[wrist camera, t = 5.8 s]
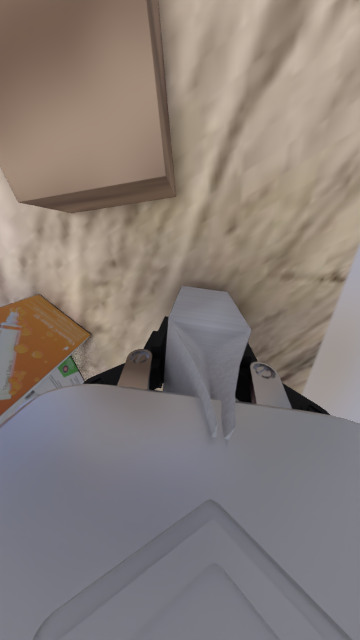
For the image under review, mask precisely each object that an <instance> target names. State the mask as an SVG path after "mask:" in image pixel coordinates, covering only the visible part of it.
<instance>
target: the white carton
mask: <svg viewBox="0 0 360 640" xmlns="http://www.w3.org/2000/svg"><path fill="white" fill-rule="evenodd" d="M250 333H251V329H250V327H249V325H248V324H247V322H246V321H245V319H244V317H243V316H242V314H241V313H240V311H239V309H238V308H237V306H236V305H235V303H234V302H233V300H232V298H231V297H230V295H229V294H228V292H224V291H216V290H209V289H202V288H194V287H187V286H182V287H181V289H180V292H179V294H178V296H177V299H176V301H175V304H174V306H173V308H172V311H171V313H170V316H169V318H168V331H167V344H166V357H165V370H164V383H163V391H165V392H173V393H181V394H188V395H195V396H197V397H200V398H201V400H202V402H203V405H204V409H205V413H206V417H207V420H208V424H209V428H210V431H211V435H212V437H217V420H216V417H215V414H214V410H213V407H212V404H211V401H210V398H214V399H217V400H220V401H221V404H222V409H221V421H222V428H223V434H224V439H229V438H230V437H231V435H232V433H233V431H234V429H235V427H236V416H235V391H236V385H237V379H238V373H239V367H240V363H241V360H242V357H243V354H244V351H245V348H246V345H247V342H248V339H249V336H250Z"/></svg>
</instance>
